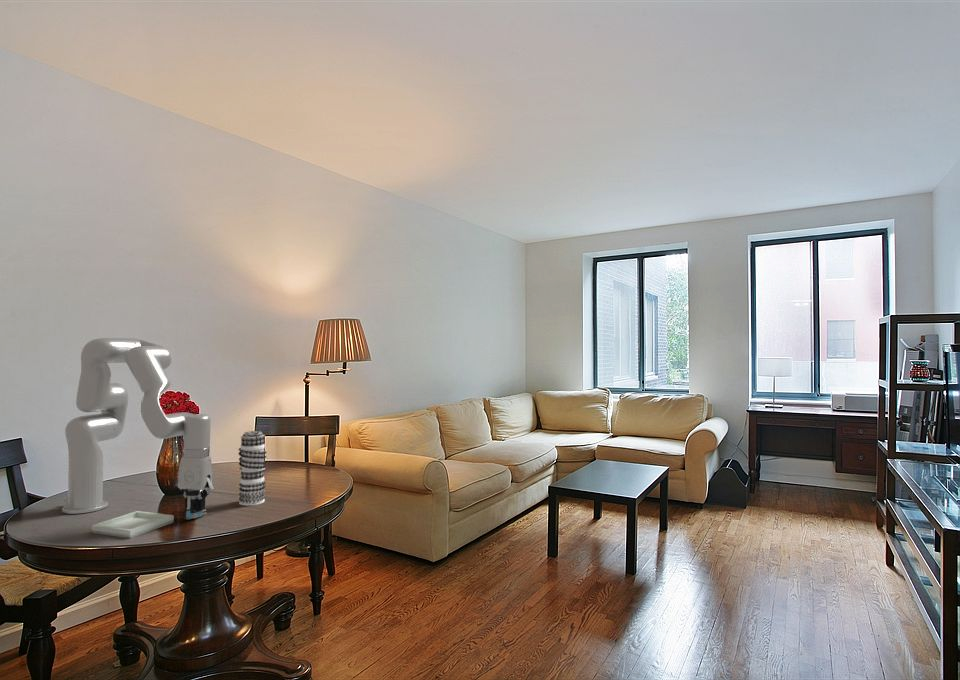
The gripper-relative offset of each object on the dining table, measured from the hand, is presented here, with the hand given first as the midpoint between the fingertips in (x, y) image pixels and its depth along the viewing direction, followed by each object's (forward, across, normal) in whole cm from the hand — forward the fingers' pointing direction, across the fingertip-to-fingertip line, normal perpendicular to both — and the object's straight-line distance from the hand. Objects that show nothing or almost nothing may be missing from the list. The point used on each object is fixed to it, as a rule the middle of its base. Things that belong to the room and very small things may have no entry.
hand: (195, 509), depth 175 cm
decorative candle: (+3, +5, +20) cm, 21 cm away
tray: (+3, -10, -13) cm, 17 cm away
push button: (+3, 0, 0) cm, 3 cm away
